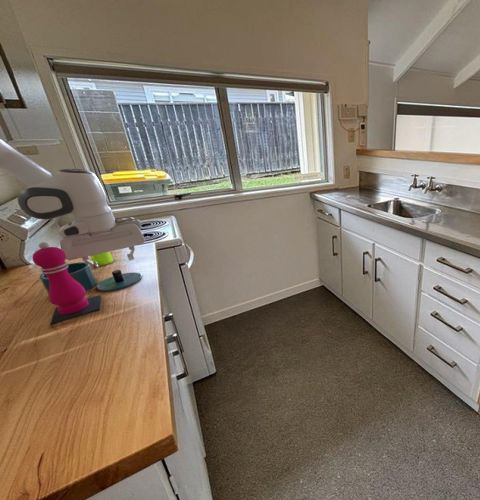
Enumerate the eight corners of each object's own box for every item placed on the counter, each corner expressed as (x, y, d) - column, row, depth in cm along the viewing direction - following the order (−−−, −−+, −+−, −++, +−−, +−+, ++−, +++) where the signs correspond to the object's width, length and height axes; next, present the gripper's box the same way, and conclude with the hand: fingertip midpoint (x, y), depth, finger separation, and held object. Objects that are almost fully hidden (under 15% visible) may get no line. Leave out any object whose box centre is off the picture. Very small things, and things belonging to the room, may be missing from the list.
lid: (97, 297, 87) (91, 284, 85) (98, 283, 96) (93, 270, 94) (143, 284, 94) (139, 271, 92) (141, 272, 102) (136, 260, 101)
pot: (47, 304, 84) (36, 282, 81) (53, 289, 93) (43, 269, 90) (96, 291, 91) (87, 270, 88) (98, 278, 99) (89, 259, 96)
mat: (51, 326, 74) (50, 323, 73) (57, 310, 81) (55, 307, 81) (100, 311, 79) (99, 308, 79) (101, 297, 87) (100, 294, 86)
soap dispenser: (94, 268, 107) (72, 217, 100) (94, 262, 112) (73, 214, 105) (113, 263, 111) (93, 214, 103) (112, 258, 116) (93, 211, 108)
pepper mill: (65, 304, 82) (33, 240, 74) (95, 299, 84) (67, 236, 76) (51, 318, 75) (14, 249, 68) (84, 312, 78) (52, 244, 70)
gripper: (137, 214, 95) (150, 251, 100) (54, 228, 83) (74, 270, 89) (138, 217, 90) (152, 257, 96) (50, 233, 79) (72, 277, 84)
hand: (114, 263), depth 92 cm, fingers open, 8 cm apart
